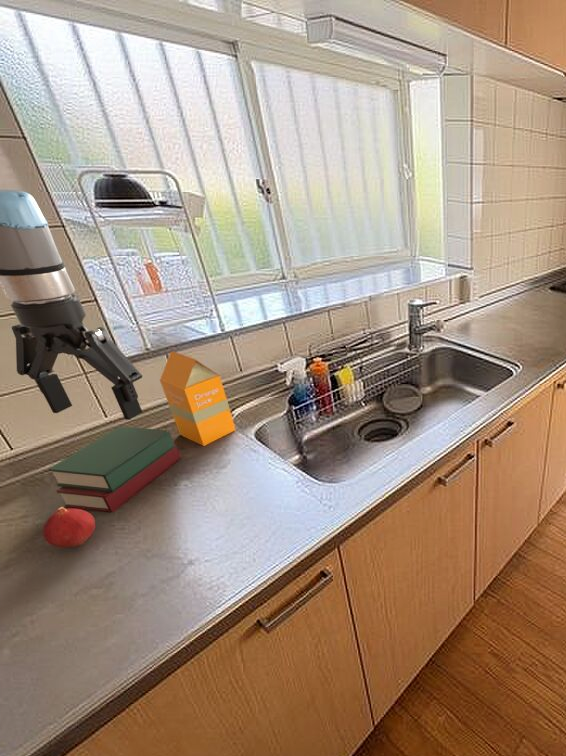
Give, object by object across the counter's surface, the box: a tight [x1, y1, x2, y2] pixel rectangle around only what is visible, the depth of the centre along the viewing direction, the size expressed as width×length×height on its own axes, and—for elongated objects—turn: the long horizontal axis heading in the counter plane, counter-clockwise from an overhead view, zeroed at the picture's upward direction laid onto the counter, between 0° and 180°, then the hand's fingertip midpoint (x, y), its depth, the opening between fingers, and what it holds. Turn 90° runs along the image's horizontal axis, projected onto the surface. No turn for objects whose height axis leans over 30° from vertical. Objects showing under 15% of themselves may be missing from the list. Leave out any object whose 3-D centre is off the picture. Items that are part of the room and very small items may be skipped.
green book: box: [47, 425, 175, 492], centre depth 80 cm, size 10×14×4 cm
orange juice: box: [159, 350, 236, 447], centre depth 94 cm, size 8×9×20 cm
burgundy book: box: [56, 442, 182, 513], centre depth 82 cm, size 9×16×4 cm, turn 175°
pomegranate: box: [42, 506, 96, 548], centre depth 68 cm, size 6×6×8 cm
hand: (98, 412), depth 76 cm, fingers open, 13 cm apart
